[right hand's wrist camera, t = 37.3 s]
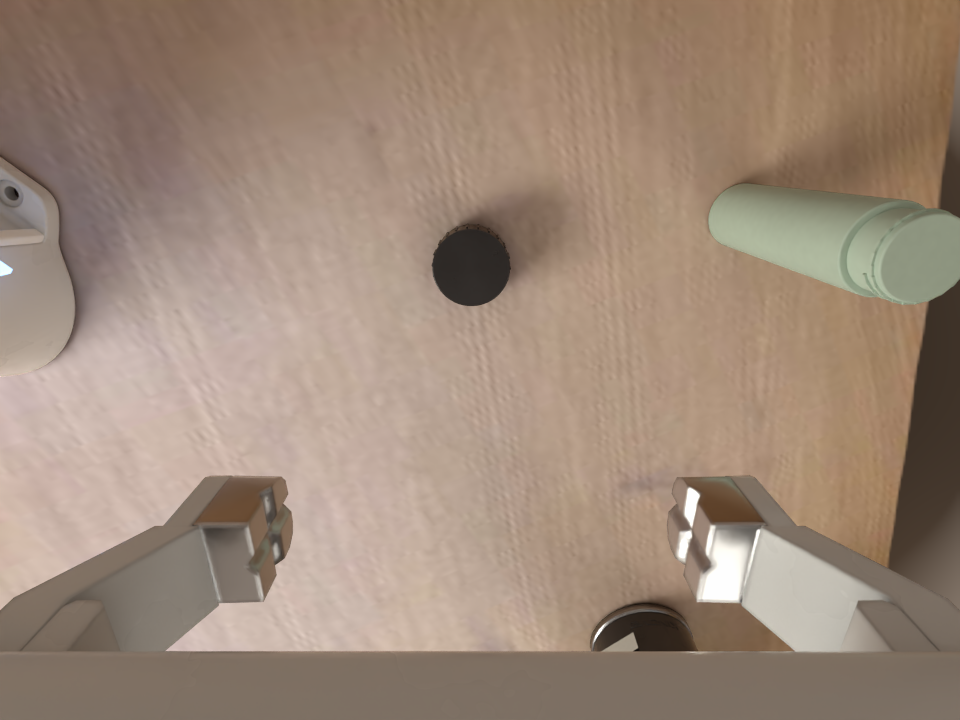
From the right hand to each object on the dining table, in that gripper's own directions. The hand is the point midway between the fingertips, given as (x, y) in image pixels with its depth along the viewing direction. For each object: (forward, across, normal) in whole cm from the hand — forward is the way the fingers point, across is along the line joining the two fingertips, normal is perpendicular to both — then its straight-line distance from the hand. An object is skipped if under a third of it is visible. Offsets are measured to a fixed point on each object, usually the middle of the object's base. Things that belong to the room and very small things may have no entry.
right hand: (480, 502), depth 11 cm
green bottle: (+26, +17, +3) cm, 32 cm away
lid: (+24, -1, 0) cm, 24 cm away
